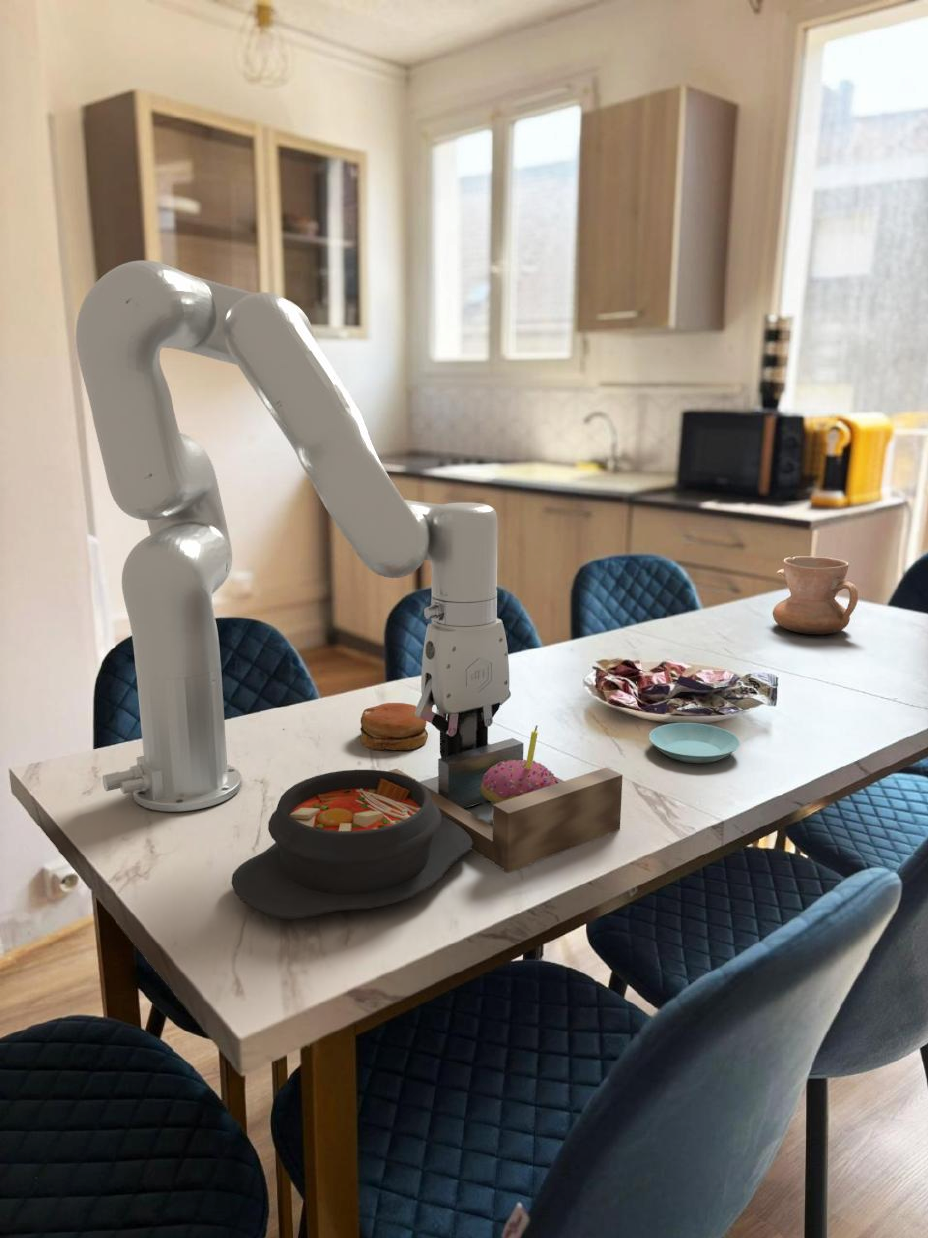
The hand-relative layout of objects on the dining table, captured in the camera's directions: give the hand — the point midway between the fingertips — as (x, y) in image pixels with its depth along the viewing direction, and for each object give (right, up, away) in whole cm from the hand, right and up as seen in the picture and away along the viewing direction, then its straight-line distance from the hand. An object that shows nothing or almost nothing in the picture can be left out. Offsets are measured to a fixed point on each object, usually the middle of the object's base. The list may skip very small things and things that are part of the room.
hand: (464, 757), depth 111 cm
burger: (-10, 0, +17) cm, 20 cm away
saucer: (+31, -2, +13) cm, 33 cm away
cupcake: (+6, -6, -7) cm, 11 cm away
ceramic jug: (+70, +14, +74) cm, 103 cm away
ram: (+1, -4, 0) cm, 4 cm away
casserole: (-11, -9, -18) cm, 23 cm away
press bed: (+4, -5, -4) cm, 8 cm away
